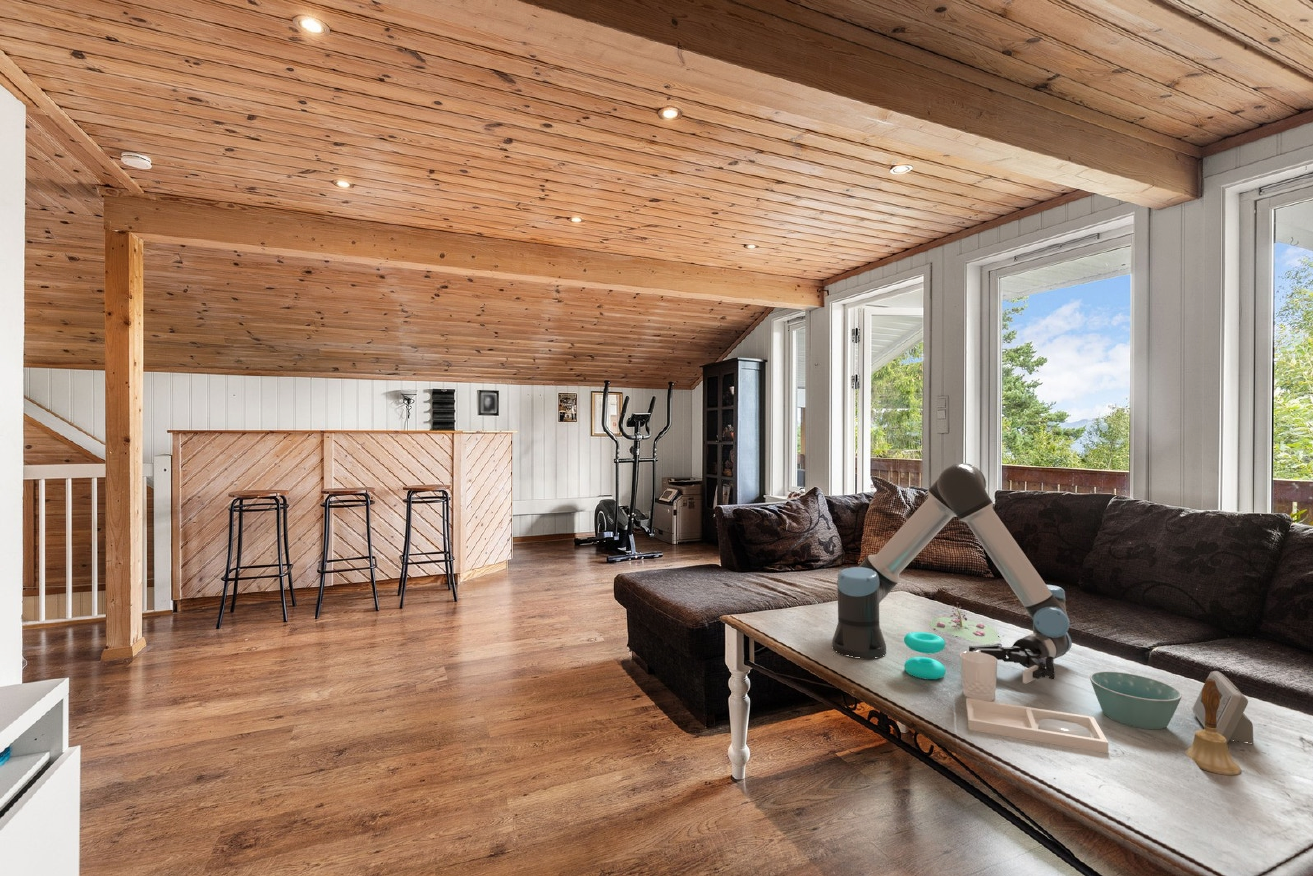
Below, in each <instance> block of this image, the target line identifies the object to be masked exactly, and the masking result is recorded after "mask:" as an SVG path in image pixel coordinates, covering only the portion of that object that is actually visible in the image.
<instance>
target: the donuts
mask: <svg viewBox="0 0 1313 876" xmlns="http://www.w3.org/2000/svg"><path fill="white" fill-rule="evenodd" d="M903 642H904V644H905V645H906V647H907V648H909V649H910V650H912V651H914V652H917V653H922V654H937V653H939V652H942V651H944V649H945V647H946V642H945V640H944V638H942V637H941V636H939V635H938V634H935V633H931V632H924V631H912V632H909V633H907V634H905V636H904V638H903ZM904 670H905V671H906V673H908V674H909V675H910V674H911V675H910V676H912V675H913V676H912V677H914V676H915V677H914V678H917V677H919V678H918V679H921V678H926V679H925V680H928V679H934V680H939V679H938V678H940V679H941V678H944V677H945V675H946V672H947V670H946V667H945V666H944V664H943V663H941V662H940V661H939V660H936V659H934V658H931V657H927V656H914V657H910V658H908V659H907V660H905V663H904Z"/></svg>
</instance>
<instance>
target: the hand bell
mask: <svg viewBox="0 0 1313 876" xmlns="http://www.w3.org/2000/svg"><path fill="white" fill-rule="evenodd" d="M1201 690H1202V702H1203V706H1204V708H1205V728H1204V729H1197V730H1196V731H1194V737H1193V741H1192V744H1191V745H1190V747H1189V748H1188V749H1185V754H1186V755H1187V756H1188V757H1189V758H1191V759H1192V760H1193V762H1194V763H1195V764H1196V765H1197V767H1198V768H1199V769H1200V770H1203V771H1206V772H1209V773H1210V772H1211V773H1213V774H1219V775H1224V776H1237V775H1240V774H1241V773H1242V769H1241V767H1240V765H1239V764H1238V763H1236V761H1234V759H1233V758H1232V756H1231V753H1230V751H1229V747H1228V742H1227V740H1226V738H1225V737H1224V736H1222V735H1220V734H1219V733H1217V721H1216V713H1217V710H1218V708H1219V704H1220V694H1219V690H1218V688H1217V686H1216V682H1215V680H1213V679H1207V678H1205V682H1204V684H1203V686H1202V688H1201Z"/></svg>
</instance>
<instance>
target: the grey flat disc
mask: <svg viewBox="0 0 1313 876" xmlns="http://www.w3.org/2000/svg"><path fill="white" fill-rule="evenodd" d="M1038 729H1040V730H1046V731H1053V732H1059V733H1065V734H1071V735H1077V736H1084V737H1090V738H1091V733H1090V731H1089V730H1088V729H1086V728H1085V727H1083V726H1081V725H1079V724H1076V723H1073V722H1070V721H1066V720H1061V719H1042V720H1040V721H1039V722H1038Z"/></svg>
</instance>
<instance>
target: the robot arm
mask: <svg viewBox="0 0 1313 876" xmlns="http://www.w3.org/2000/svg"><path fill="white" fill-rule="evenodd" d="M986 487H987V481H986V477H985V475H984V473H983V472H982V471H981V470H979V469H978V467H977V466H975V465H973V464H970V463H967V462H965V463H964V462H959V463H955V464H952V465H950V466H948V467H946V468H945V469H944V470H942V471H941V473H940V474H939V477H938V478H937V480H935V482H933V484H932V485H931V486H930V487H929V488H928V489H927V495H928V497H927V499H925V501H924V502H923V503H922V504H921V505H920V506H919V507H918V508H917V509H916V511H914V513H913V514H912V515H911V516H910V517H909V518H908V519H907V520H906V521H905V523H904V524H903V525H902V526H900V528H899V529H898V530H897V531H896V532H895V533H894V535H893V536H892V537H891V538H890V539H889V540H888V541H887V542H886V543H885V544H884V545H883V547H882V548H880V549H879V551H878V552H877V553H876V554H869V555H867V556H866V558H865V559H864V560H863V561H862V562H861V563H860V564H859V565H858V566H853V567H849V568H848V567H846V568H844V569H841V570H840V571H839V572H838V575H837V580H836V586H837V625H836V628H835V631H834V634H833V637H832V640H831V641H832V643H831V644H832V645H831V646H832V647H833V649H832V650H833V651H834V650H835V651H837V652H838V653H840V654H839V655H841V654H843V655H842V656H844V655H849V656H853V657H860V658H874V659H876V658H875V657H880V656H883V655H885V654H887V644H886V641H885V638H884V635H883V633H882V629H881V626H880V604H881V602H882V600H884V599H885V598H886V597H887V596H888V595H889V593H890V592H891V591H892V590H893V589H894V588H895V587H896V586H897V585H898V584H899V583H900V581H901V580H900V574H901V573H902V572H903V571H904V569H905V568H906V567H908V565H909V564H910V563H911V562H912V561H913V560H914V559H915V558H917V556H918V555H919V553H920V552H922V551H923V550H924V548H925V547H926V546H927V545H928V544H929V543H931V541H932V540H933V538H935V537H936V535H938V534H939V532H940V531H941V530H942V529H943V528H944V527H945V526H947V524H948V523H949V522H950V521H951V520H952V519H953V518H955V517H957V519H958V520H959V521H961V522H964V523H966V525H967V526H968V528H969V529H970V530H971V532H972V533H973V535H974V536H975V538H976V539H977V541H978V542H979V544H980V545H981V546H982V548H983V549H984V550H985V553H987V556H988V557H989V558H990V559H991V561H992V562H993V564H994V565H995V567H996V568H997V569H998V571H999V572H1000V574H1001V575H1002V577H1003V578H1004V580H1005V581H1006V583H1007V584H1008V585H1009V587H1010V588H1011V590H1012V592H1014V594H1015V595H1016V597H1017V599H1018V600H1019V602H1020V603H1021V604H1022V605H1023V607H1024V609H1025V611H1026V612H1027V614H1028V615H1029V616H1030V618H1031V620H1032V633H1031V634H1028V635H1026V636H1024V637H1021V638H1019V639H1017V640H1016V641H1015V642H1014V643H1013V644H1012V646H1002V643H1001V642H998V643H995V644H991V645H984V644H980V645H970V646H968V652H981V653H985V654H989V655H992V656H994V657H995V658H996V659H997V661H1000V660H1001V661H1002V662H1004V663H1006V662H1007V663H1009V662H1010V663H1015V664H1020V665H1021V666H1022V667H1024V668H1026V669H1024V670H1022V683H1023V684H1029V683H1030V682H1033V681H1034V680H1036V679H1037V680H1038V679H1041V678H1042V679H1044V678H1046V677H1048V679H1049V680H1055V679H1056V674H1055V673H1056V670H1055V666H1054V664H1055V663H1054V661H1055V659H1058V658H1060V657H1063V656H1064V655H1067V654H1066V653H1068V652H1069V651H1070V649H1071V648H1072V645H1073V644H1072V643H1073V642H1072V638H1071V636H1070V634H1069V633H1068V631H1069V629H1070V624H1071V622H1070V618H1069V615H1068V613H1067V609H1066V591H1065V590H1064V589H1063V588H1062V587H1060V586H1057V585H1052V584H1046V583H1045V581H1044V580H1043V578H1042V577H1041V575H1040V574H1039V573H1038V571H1037V570H1036V568H1035V567H1034V566H1033V564H1032V563H1031V561H1030V560H1029V559H1028V557H1027V556H1026V554H1025V553H1024V551H1023V550H1022V548H1021V547H1020V546H1019V544H1018V543H1017V541H1016V540H1015V539H1014V537H1013V536H1012V534H1011V533H1010V531H1009V529H1008V528H1007V527H1006V526H1005V524H1004V523H1003V522H1002V521H1001V520H1002V519H1000V517H999V516H998V514H997V513H996V512H995V510H994V509H993V507H994V502H993V500H992V499H991V498H990V495H989V494H988V493H987V490H986ZM835 651H834V652H835ZM837 652H836V653H837ZM838 653H837V654H838ZM885 656H886V655H885ZM883 657H884V656H883ZM880 658H881V657H880Z"/></svg>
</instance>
